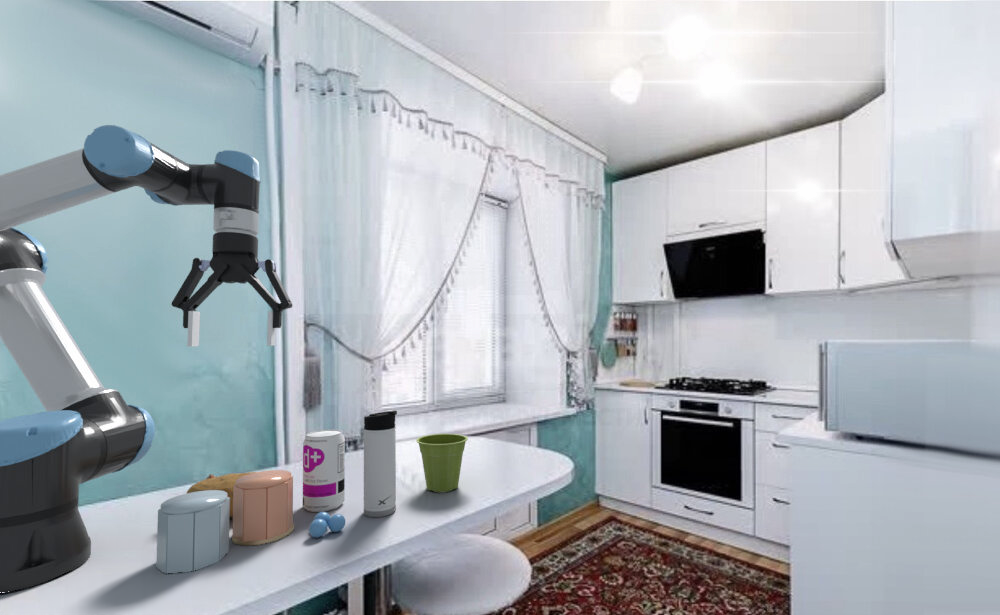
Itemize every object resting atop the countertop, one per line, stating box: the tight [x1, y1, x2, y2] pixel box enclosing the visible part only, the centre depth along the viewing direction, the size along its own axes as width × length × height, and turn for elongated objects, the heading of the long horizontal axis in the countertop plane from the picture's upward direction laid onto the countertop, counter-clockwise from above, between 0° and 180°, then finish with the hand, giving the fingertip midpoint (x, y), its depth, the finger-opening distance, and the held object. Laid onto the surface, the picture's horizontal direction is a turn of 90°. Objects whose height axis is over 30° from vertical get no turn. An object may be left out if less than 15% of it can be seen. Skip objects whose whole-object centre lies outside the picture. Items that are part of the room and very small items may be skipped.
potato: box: [185, 471, 256, 518], centre depth 91 cm, size 10×14×8 cm
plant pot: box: [416, 433, 469, 493], centre depth 107 cm, size 12×12×11 cm
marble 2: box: [308, 519, 328, 538], centre depth 81 cm, size 3×3×3 cm
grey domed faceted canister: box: [155, 490, 230, 575], centre depth 74 cm, size 9×9×9 cm
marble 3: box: [327, 513, 346, 533], centre depth 83 cm, size 3×3×3 cm
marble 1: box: [312, 511, 332, 528], centre depth 85 cm, size 3×3×3 cm
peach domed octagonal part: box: [232, 469, 294, 542], centre depth 83 cm, size 9×9×9 cm
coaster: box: [231, 522, 295, 547], centre depth 83 cm, size 10×10×1 cm
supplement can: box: [302, 429, 346, 513], centre depth 97 cm, size 8×8×15 cm
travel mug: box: [363, 410, 398, 518], centre depth 93 cm, size 6×7×20 cm
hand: (232, 346), depth 87 cm, fingers open, 13 cm apart
